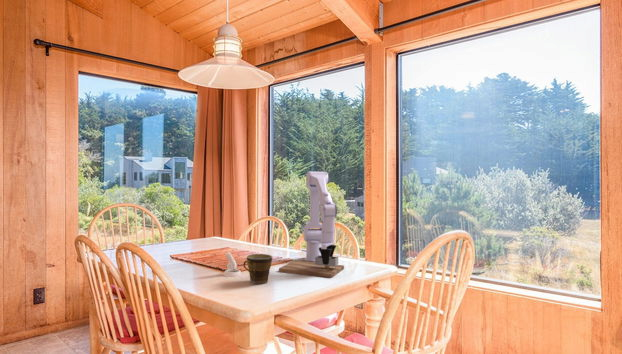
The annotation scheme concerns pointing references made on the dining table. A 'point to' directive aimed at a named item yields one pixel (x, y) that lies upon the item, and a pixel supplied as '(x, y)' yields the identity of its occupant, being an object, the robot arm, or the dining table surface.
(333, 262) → the silver rectangular frame
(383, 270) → the dining table surface
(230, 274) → the hook
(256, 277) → the ceramic cup
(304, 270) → the keeper board
